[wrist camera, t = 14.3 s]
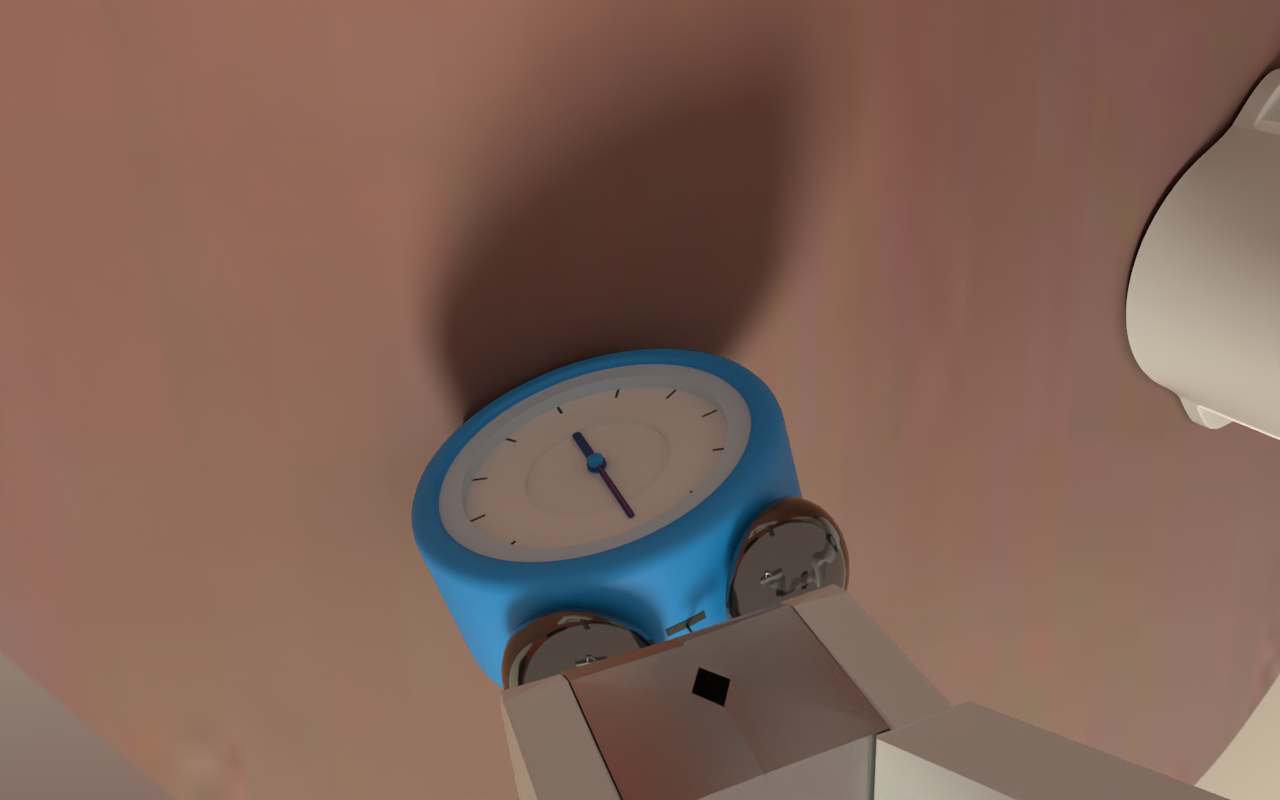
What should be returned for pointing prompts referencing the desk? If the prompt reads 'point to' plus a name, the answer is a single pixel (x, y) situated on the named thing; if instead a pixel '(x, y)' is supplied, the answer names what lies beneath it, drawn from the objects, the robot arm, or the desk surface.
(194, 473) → the desk surface
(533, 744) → the robot arm
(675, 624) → the alarm clock
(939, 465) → the desk surface
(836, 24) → the desk surface
